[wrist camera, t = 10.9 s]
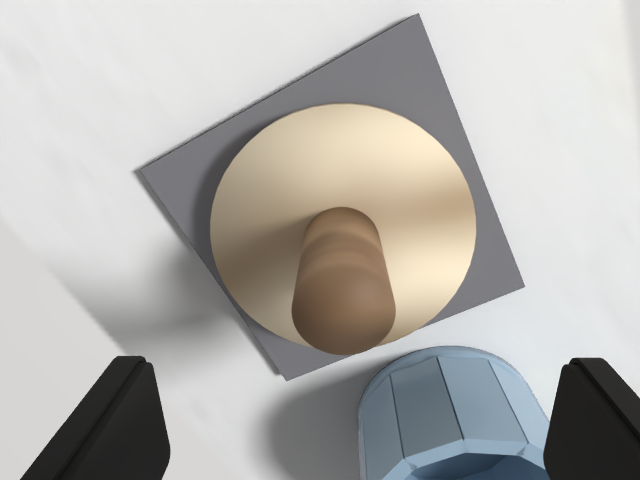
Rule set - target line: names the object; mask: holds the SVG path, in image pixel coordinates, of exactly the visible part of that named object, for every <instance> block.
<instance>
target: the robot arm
mask: <svg viewBox="0 0 640 480" xmlns="http://www.w3.org/2000/svg"><path fill="white" fill-rule="evenodd" d="M169 459H170V444H169V439H168V434H167V430H166V425H165V421H164V416H163V411H162V406H161V401H160V397H159V392H158V387H157V382H156V378H155V373H154V368H153V365H152V364H151V363H149V362H146V359H145V358H144V357H142V356H117V357H116V358H114V359H113V361H112V362H111V363H110V365H109V366H108V367H107V368H106V370H105V371H104V372H103V374H102V375H101V376H100V377H99V379H98V380H97V381H96V383H95V384H94V385H93V386H92V388H91V389H90V390H89V392H88V393H87V394H86V395H85V397H84V398H83V399H82V401H81V402H80V403H79V405H78V406H77V407H76V408H75V410H74V411H73V412H72V414H71V415H70V416H69V417H68V419H67V420H66V422H64V424H63V425H62V426H61V427H60V429H59V430H58V431H57V433H56V434H55V435H54V436H53V438H52V439H51V440H50V441H49V443H48V444H47V445H46V447H45V448H44V449H43V451H42V452H41V453H40V455H39V456H38V457H37V458H36V460H35V461H34V462H33V464H32V465H31V466H30V467H29V469H28V470H27V471H26V472H25V474H24V475H23V477H22V478H21V479H20V480H162V477H163V475H164V473H165V470H166V468H167V466H168V463H169ZM543 461H544V466H545V469H546V472H547V474H548V476H549V478H550V480H640V398H639V397H638V396H637V395H636V394H635V392H634V391H633V390H632V389H631V388H630V387H629V386H628V385H627V384H626V382H625V381H624V380H623V379H622V378H621V377H620V376H619V375H618V374H617V372H616V371H615V370H614V369H613V368H612V367H611V366H610V365H609V364H608V362H607V361H605V360H604V359H602V358H572V359H571V361H570V362H569V364H566V365H564V366H563V367H562V370H561V374H560V379H559V383H558V388H557V392H556V397H555V402H554V406H553V411H552V415H551V420H550V424H549V429H548V433H547V438H546V442H545V447H544V452H543Z"/></svg>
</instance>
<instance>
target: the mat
mask: <svg viewBox="0 0 640 480" xmlns="http://www.w3.org/2000/svg"><path fill="white" fill-rule="evenodd" d="M333 102H353V103H362V104H369V105H373V106H377V107H381V108H385V109H387V110H390V111H392V112H395V113H397V114H399V115H402V116H404V117H405V118H407V119H409V120H410V121H412V122H414V123H416V124H417V125H418V126H420V127H421V128H422V129H424V130H425V131H426V132H427V133H429V134H430V135H431V136H432V137H433V138H435V139H436V140H437V141H438V142H439V143H440V144H441V145H442V146H443V147H444V149H445V150H446V151H447V152H448V153H449V154H450V155H451V157H452V158H453V159H454V161H455V162H456V164H457V165H458V167H459V168H460V170H461V172H462V174H463V176H464V178H465V180H466V182H467V184H468V187H469V190H470V193H471V196H472V199H473V203H474V209H475V215H476V238H475V247H474V252H473V255H472V259H471V263H470V266H469V268H468V271H467V273H466V275H465V278H464V280H463V282H462V283H461V285H460V287H459V288H458V290H457V292H456V293H455V295H454V296H453V297H452V298H451V300H450V301H449V302H448V304H447V305H446V306H445V307H444V308H443V309H442V310H441V311H440V312H439V313H438V314H437V315H436V316H435V317H434V318H432V319H431V320H430V321H429V322H427V323H426V324H425V325H423V326H422V327H420V328H423V327H425V326H428V325H430V324H433V323H435V322H438V321H440V320H443V319H445V318H448V317H450V316H453V315H455V314H458V313H461V312H463V311H466V310H468V309H471V308H473V307H476V306H478V305H481V304H483V303H486V302H488V301H491V300H493V299H496V298H498V297H501V296H503V295H506V294H509V293H511V292H514V291H516V290H519V289H521V288H524V287H525V285H524V282H523V280H522V277H521V275H520V272H519V270H518V267H517V264H516V262H515V259H514V257H513V254H512V252H511V249H510V247H509V244H508V241H507V239H506V236H505V234H504V231H503V229H502V226H501V223H500V221H499V218H498V216H497V213H496V211H495V208H494V205H493V203H492V200H491V198H490V195H489V193H488V190H487V187H486V185H485V182H484V180H483V177H482V175H481V172H480V169H479V167H478V164H477V162H476V159H475V157H474V154H473V151H472V149H471V146H470V144H469V141H468V139H467V136H466V133H465V131H464V128H463V126H462V123H461V121H460V118H459V115H458V113H457V110H456V108H455V105H454V103H453V100H452V97H451V95H450V92H449V90H448V87H447V85H446V82H445V79H444V77H443V74H442V72H441V69H440V67H439V64H438V61H437V59H436V56H435V54H434V51H433V49H432V46H431V43H430V41H429V38H428V36H427V33H426V31H425V28H424V25H423V23H422V20H421V18H420V15H419V13H418V14H416V15H414V16H412V17H410V18H408V19H407V20H405V21H403V22H401V23H400V24H398V25H396V26H394V27H392V28H391V29H389V30H387V31H385V32H384V33H382V34H380V35H378V36H377V37H375V38H373V39H371V40H369V41H368V42H366V43H364V44H362V45H361V46H359V47H357V48H355V49H353V50H352V51H350V52H348V53H346V54H345V55H343V56H341V57H339V58H338V59H336V60H334V61H332V62H330V63H329V64H327V65H325V66H323V67H322V68H320V69H318V70H316V71H314V72H313V73H311V74H309V75H307V76H306V77H304V78H302V79H300V80H299V81H297V82H295V83H293V84H291V85H290V86H288V87H286V88H284V89H283V90H281V91H279V92H277V93H275V94H274V95H272V96H270V97H268V98H267V99H265V100H263V101H261V102H260V103H258V104H256V105H254V106H252V107H251V108H249V109H247V110H245V111H244V112H242V113H240V114H238V115H236V116H235V117H233V118H231V119H229V120H228V121H226V122H224V123H222V124H221V125H219V126H217V127H215V128H213V129H212V130H210V131H208V132H206V133H205V134H203V135H201V136H199V137H197V138H196V139H194V140H192V141H190V142H189V143H187V144H185V145H183V146H182V147H180V148H178V149H176V150H174V151H173V152H171V153H169V154H167V155H166V156H164V157H162V158H160V159H158V160H157V161H155V162H153V163H151V164H150V165H148V166H146V167H144V168H143V169H141V170H140V171H141V173H142V174H143V176H144V177H145V178H146V180H147V181H148V183H149V184H150V186H151V187H152V188H153V190H154V191H155V193H156V194H157V196H158V197H159V199H160V200H161V201H162V203H163V204H164V206H165V207H166V209H167V210H168V212H169V213H170V214H171V216H172V217H173V219H174V220H175V222H176V223H177V224H178V226H179V227H180V229H181V230H182V232H183V233H184V235H185V236H186V237H187V239H188V240H189V242H190V243H191V245H192V246H193V247H194V249H195V250H196V252H197V253H198V255H199V256H200V258H201V259H202V260H203V262H204V263H205V265H206V266H207V268H208V269H209V271H210V272H211V273H212V275H213V276H214V278H215V279H216V281H217V282H218V283H219V285H220V286H221V288H222V289H223V291H224V292H225V294H226V295H227V296H228V298H229V299H230V301H231V302H232V304H233V305H234V307H235V308H236V309H237V311H238V312H239V314H240V315H241V317H242V318H243V319H244V321H245V322H246V324H247V325H248V327H249V328H250V330H251V331H252V332H253V334H254V335H255V337H256V338H257V340H258V341H259V343H260V344H261V345H262V347H263V348H264V350H265V351H266V353H267V354H268V355H269V357H270V358H271V360H272V361H273V363H274V364H275V366H276V367H277V368H278V370H279V371H280V373H281V374H282V376H283V377H284V378H285V380H286V381H289V380H291V379H294V378H296V377H299V376H301V375H304V374H306V373H309V372H311V371H314V370H317V369H319V368H322V367H324V366H327V365H329V364H332V363H334V362H337V361H339V360H342V359H344V358H347V357H349V356H352V355H334V354H329V353H326V352H323V351H320V350H318V349H316V348H313V347H308V346H304V345H301V344H298V343H295V342H292V341H289V340H287V339H285V338H283V337H281V336H278V335H276V334H275V333H273V332H271V331H270V330H268V329H266V328H265V327H263V326H262V325H260V324H259V323H258V322H257V321H255V320H254V319H253V318H251V317H250V316H249V315H248V314H247V313H246V312H245V311H244V310H243V309H242V308H241V307H240V306H239V304H238V303H237V302H236V301H235V299H234V298H233V297H232V295H231V294H230V292H229V291H228V289H227V287H226V286H225V284H224V282H223V281H222V278H221V276H220V274H219V271H218V269H217V267H216V263H215V260H214V256H213V253H212V246H211V239H210V219H211V212H212V205H213V201H214V198H215V195H216V191H217V188H218V186H219V184H220V182H221V180H222V177H223V175H224V173H225V172H226V170H227V168H228V167H229V165H230V164H231V162H232V161H233V159H234V158H235V157H236V156H237V154H238V153H239V152H240V151H241V150H242V149H243V148H244V146H245V145H246V144H247V143H248V142H249V141H250V140H251V139H252V138H253V137H255V136H256V135H257V134H258V133H259V132H260V131H262V130H263V129H264V128H265V127H267V126H268V125H270V124H271V123H273V122H274V121H276V120H278V119H279V118H281V117H283V116H285V115H288V114H290V113H292V112H294V111H297V110H300V109H303V108H306V107H310V106H313V105H319V104H325V103H333ZM420 328H419V329H420ZM417 330H418V329H417ZM353 355H354V354H353Z"/></svg>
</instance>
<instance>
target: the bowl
mask: <svg viewBox="0 0 640 480" xmlns="http://www.w3.org/2000/svg"><path fill="white" fill-rule="evenodd" d="M549 424H550V422H549V421H548V419H547V417H546V415H545V414H544V412H543V410H542V408H541V407H540V405H539V403H538V401H537V400H536V398H535V396H534V394H533V393H532V391H531V389H530V387H529V386H528V384H527V382H526V381H525V380H524V379H523V377H522V376H521V375H520V373H519V372H518V371H517V370H516V369H515V368H514V367H513V366H512V365H510V364H509V363H507V362H506V361H505V360H503V359H502V358H500V357H498V356H496V355H494V354H491V353H488V352H486V351H483V350H479V349H475V348H470V347H461V346H442V347H433V348H428V349H423V350H420V351H417V352H413V353H410V354H408V355H406V356H404V357H401V358H399V359H397V360H396V361H394V362H392V363H391V364H389V365H388V366H386V367H385V368H384V369H382V370H381V371H380V372H379V373H378V374H377V375H376V376H375V377H374V378H373V379H372V381H371V382H370V383H369V384H368V386H367V387H366V389H365V391H364V393H363V395H362V398H361V400H360V404H359V409H358V428H359V435H358V447H359V465H360V480H550V478H549V476H548V474H547V472H546V469H545V466H544V461H543V452H544V447H545V442H546V438H547V433H548V429H549Z"/></svg>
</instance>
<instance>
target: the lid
mask: <svg viewBox="0 0 640 480" xmlns="http://www.w3.org/2000/svg"><path fill="white" fill-rule="evenodd" d="M475 238H476V215H475V209H474V203H473V199H472V196H471V193H470V190H469V187H468V184H467V182H466V180H465V178H464V176H463V174H462V172H461V170H460V168H459V167H458V165H457V164H456V162H455V161H454V159H453V158H452V157H451V155H450V154H449V153H448V152H447V151H446V150H445V149H444V147H443V146H442V145H441V144H440V143H439V142H438V141H437V140H436V139H435V138H433V137H432V136H431V135H430V134H429V133H427V132H426V131H425V130H424V129H422V128H421V127H420V126H418V125H417V124H416V123H414V122H412V121H410V120H409V119H407V118H405V117H404V116H402V115H399V114H397V113H395V112H392V111H390V110H387V109H385V108H381V107H377V106H373V105H369V104H362V103H353V102H333V103H325V104H319V105H313V106H310V107H306V108H303V109H300V110H297V111H294V112H292V113H290V114H288V115H285V116H283V117H281V118H279V119H278V120H276V121H274V122H273V123H271V124H270V125H268V126H267V127H265V128H264V129H263V130H262V131H260V132H259V133H258V134H257V135H256V136H255V137H253V138H252V139H251V140H250V141H249V142H248V143H247V144H246V145H245V146H244V148H243V149H242V150H241V151H240V152H239V153H238V154H237V156H236V157H235V158H234V159H233V161H232V162H231V164H230V165H229V167H228V168H227V170H226V172H225V173H224V175H223V177H222V180H221V182H220V184H219V186H218V188H217V191H216V195H215V198H214V201H213V205H212V212H211V219H210V239H211V246H212V253H213V256H214V260H215V263H216V267H217V269H218V271H219V274H220V276H221V278H222V281H223V282H224V284H225V286H226V287H227V289H228V291H229V292H230V294H231V295H232V297H233V298H234V299H235V301H236V302H237V303H238V304H239V306H240V307H241V308H242V309H243V310H244V311H245V312H246V313H247V314H248V315H249V316H250V317H251V318H253V319H254V320H255V321H257V322H258V323H259V324H260V325H262V326H263V327H265V328H266V329H268V330H270V331H271V332H273V333H275V334H276V335H278V336H281V337H283V338H285V339H287V340H289V341H292V342H295V343H298V344H301V345H304V346H308V347H313V348H316V349H318V350H320V351H323V352H326V353H329V354H334V355H353V354H358V353H362V352H365V351H367V350H369V349H371V348H373V347H377V346H381V345H384V344H387V343H390V342H393V341H396V340H398V339H400V338H402V337H404V336H406V335H409V334H410V333H412V332H414V331H415V330H417V329H419V328H420V327H422V326H423V325H425V324H426V323H427V322H429V321H430V320H431V319H432V318H434V317H435V316H436V315H437V314H438V313H439V312H440V311H441V310H442V309H443V308H444V307H445V306H446V305H447V304H448V302H449V301H450V300H451V298H452V297H453V296H454V295H455V293H456V292H457V290H458V288H459V287H460V285H461V283H462V282H463V280H464V278H465V275H466V273H467V271H468V268H469V266H470V263H471V259H472V255H473V252H474V247H475Z"/></svg>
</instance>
